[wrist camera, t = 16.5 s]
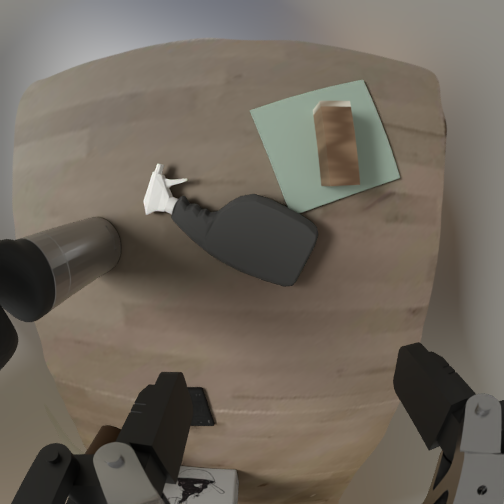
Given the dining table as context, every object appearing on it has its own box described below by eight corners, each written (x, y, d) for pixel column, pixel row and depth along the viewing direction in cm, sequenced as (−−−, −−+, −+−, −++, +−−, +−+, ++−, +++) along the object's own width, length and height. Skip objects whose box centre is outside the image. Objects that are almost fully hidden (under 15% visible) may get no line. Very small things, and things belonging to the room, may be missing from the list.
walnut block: (330, 186, 33) (319, 100, 30) (321, 185, 38) (312, 110, 35) (360, 184, 33) (350, 101, 30) (348, 184, 38) (339, 109, 35)
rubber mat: (290, 215, 39) (291, 216, 39) (250, 111, 36) (249, 110, 35) (398, 177, 38) (400, 177, 37) (361, 80, 34) (362, 79, 34)
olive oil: (101, 439, 54) (68, 505, 30) (96, 417, 51) (55, 489, 27) (137, 453, 54) (110, 525, 30) (135, 433, 52) (102, 512, 28)
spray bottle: (288, 287, 42) (140, 221, 41) (322, 222, 39) (164, 153, 37) (289, 296, 39) (132, 225, 38) (326, 226, 36) (156, 152, 35)
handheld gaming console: (223, 427, 48) (186, 454, 41) (201, 417, 53) (167, 440, 46) (203, 382, 47) (160, 410, 40) (182, 375, 52) (142, 398, 45)
